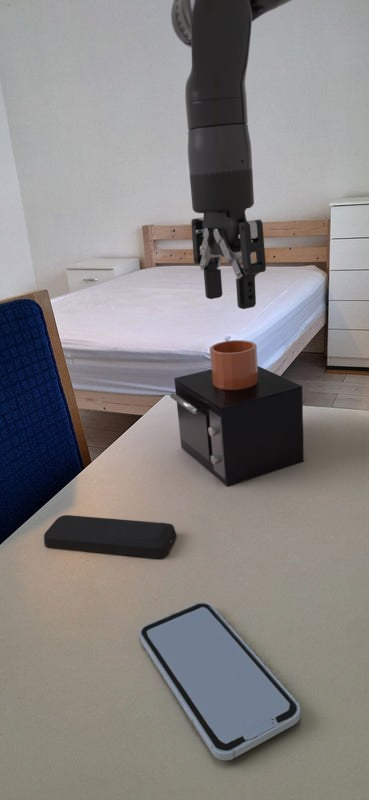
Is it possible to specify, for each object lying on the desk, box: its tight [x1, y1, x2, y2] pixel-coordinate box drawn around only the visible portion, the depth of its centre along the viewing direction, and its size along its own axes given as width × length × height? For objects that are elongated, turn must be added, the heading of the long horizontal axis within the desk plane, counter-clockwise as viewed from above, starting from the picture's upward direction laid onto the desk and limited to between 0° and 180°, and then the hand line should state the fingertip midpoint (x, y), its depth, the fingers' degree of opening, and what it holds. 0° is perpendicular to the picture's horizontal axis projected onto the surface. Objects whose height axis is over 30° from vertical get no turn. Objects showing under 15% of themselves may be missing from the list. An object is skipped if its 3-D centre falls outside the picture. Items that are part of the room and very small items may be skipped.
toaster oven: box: [169, 365, 305, 487], centre depth 83 cm, size 14×14×11 cm
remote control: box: [43, 514, 178, 559], centre depth 68 cm, size 5×2×15 cm
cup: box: [209, 339, 259, 390], centre depth 80 cm, size 6×6×5 cm
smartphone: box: [138, 601, 301, 761], centre depth 49 cm, size 7×1×15 cm
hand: (229, 302), depth 77 cm, fingers open, 8 cm apart
